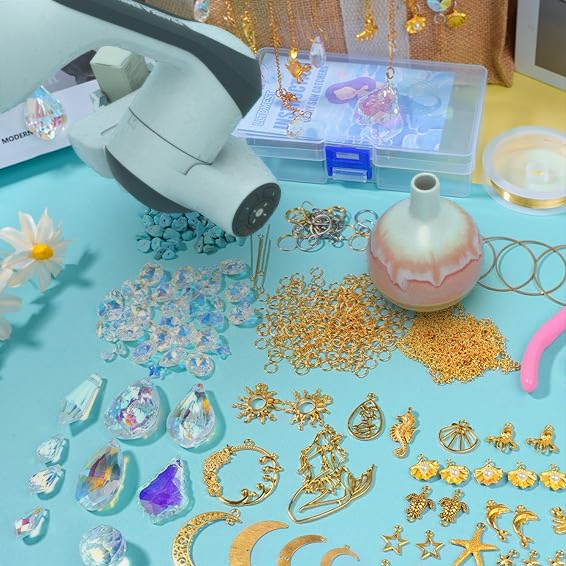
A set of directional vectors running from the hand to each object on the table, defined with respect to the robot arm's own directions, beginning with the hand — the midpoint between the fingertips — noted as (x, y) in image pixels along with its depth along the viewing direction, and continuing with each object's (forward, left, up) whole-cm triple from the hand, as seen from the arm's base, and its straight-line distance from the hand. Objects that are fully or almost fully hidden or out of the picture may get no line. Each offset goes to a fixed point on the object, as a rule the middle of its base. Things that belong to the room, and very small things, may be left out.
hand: (122, 81), depth 101 cm
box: (+1, -1, -6) cm, 6 cm away
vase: (+36, -21, -17) cm, 45 cm away
